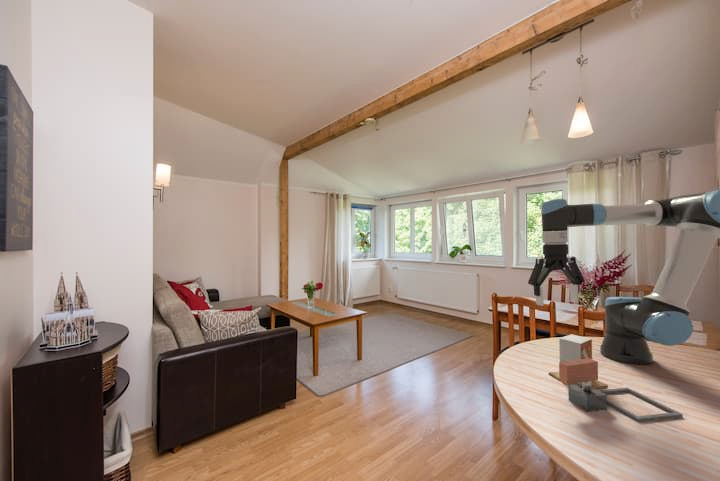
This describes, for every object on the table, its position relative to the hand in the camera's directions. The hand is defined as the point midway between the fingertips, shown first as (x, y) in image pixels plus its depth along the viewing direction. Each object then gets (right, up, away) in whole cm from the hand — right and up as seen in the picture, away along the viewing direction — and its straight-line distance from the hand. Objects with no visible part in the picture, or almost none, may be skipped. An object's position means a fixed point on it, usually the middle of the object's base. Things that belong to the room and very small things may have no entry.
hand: (557, 303), depth 105 cm
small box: (+1, -23, -8) cm, 24 cm away
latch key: (-9, -19, -23) cm, 31 cm away
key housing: (-6, -23, -22) cm, 33 cm away
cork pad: (+1, -23, -8) cm, 25 cm away
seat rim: (+6, -23, -22) cm, 33 cm away
